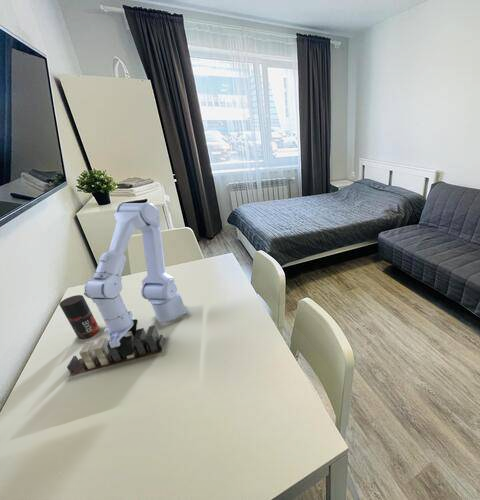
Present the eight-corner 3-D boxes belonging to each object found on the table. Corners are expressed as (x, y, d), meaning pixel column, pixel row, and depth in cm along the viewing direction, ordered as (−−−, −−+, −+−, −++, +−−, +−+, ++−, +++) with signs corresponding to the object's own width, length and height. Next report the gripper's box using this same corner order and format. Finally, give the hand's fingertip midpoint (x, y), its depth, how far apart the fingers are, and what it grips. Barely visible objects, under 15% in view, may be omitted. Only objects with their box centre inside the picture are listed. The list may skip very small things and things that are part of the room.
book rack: (166, 339, 92) (159, 322, 88) (162, 354, 86) (155, 336, 83) (80, 361, 84) (69, 343, 81) (70, 379, 78) (58, 360, 75)
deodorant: (88, 342, 91) (69, 306, 85) (74, 340, 92) (54, 304, 86) (105, 330, 96) (87, 296, 90) (91, 328, 98) (73, 294, 91)
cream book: (138, 346, 88) (131, 330, 85) (134, 357, 84) (126, 341, 81) (131, 347, 87) (124, 332, 85) (127, 359, 83) (119, 343, 80)
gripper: (107, 303, 84) (122, 336, 90) (88, 333, 72) (108, 370, 77) (133, 298, 86) (147, 330, 92) (120, 326, 74) (136, 362, 80)
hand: (131, 348), depth 85 cm, fingers closed on cream book, 5 cm apart
